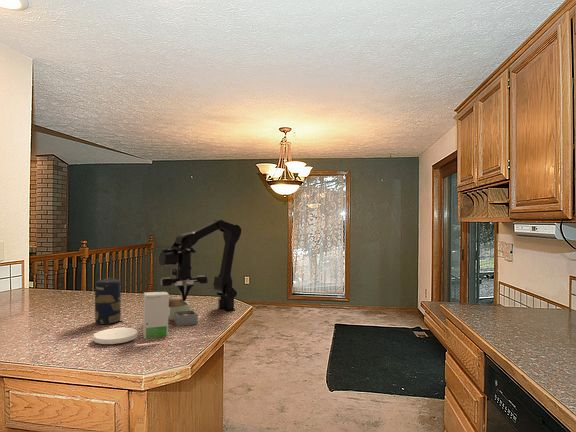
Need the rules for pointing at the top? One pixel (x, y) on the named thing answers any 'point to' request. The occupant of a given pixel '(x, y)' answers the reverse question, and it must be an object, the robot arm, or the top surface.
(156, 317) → the skincare box
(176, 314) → the grey open box
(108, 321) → the canister
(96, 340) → the plastic lid
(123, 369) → the top surface
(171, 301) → the lid
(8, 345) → the top surface
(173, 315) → the pale green hollow box
